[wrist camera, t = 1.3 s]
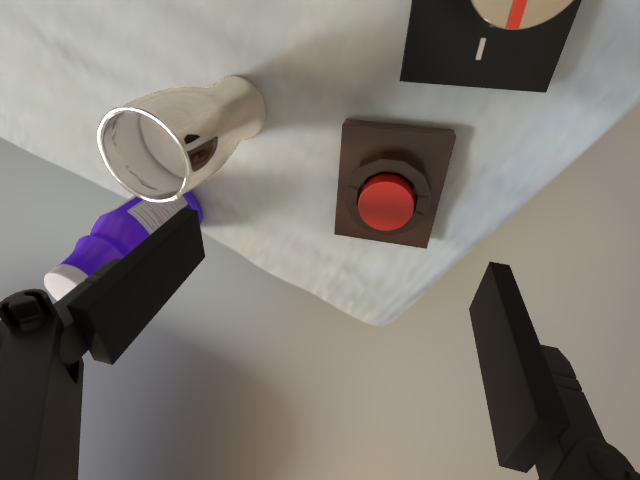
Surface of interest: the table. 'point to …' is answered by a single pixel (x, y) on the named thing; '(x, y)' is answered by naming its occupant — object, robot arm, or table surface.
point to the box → (398, 159)
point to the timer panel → (481, 49)
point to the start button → (386, 202)
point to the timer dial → (510, 12)
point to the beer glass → (179, 136)
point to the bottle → (114, 239)
